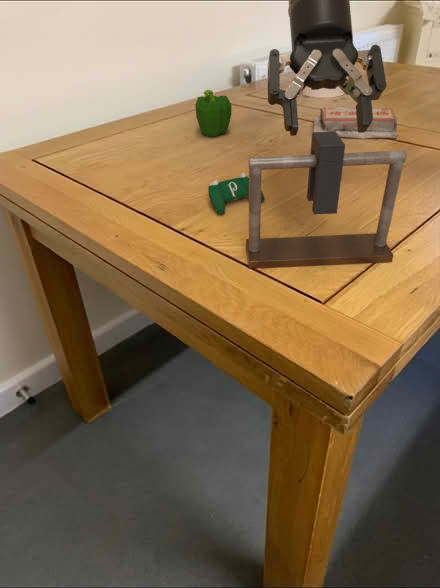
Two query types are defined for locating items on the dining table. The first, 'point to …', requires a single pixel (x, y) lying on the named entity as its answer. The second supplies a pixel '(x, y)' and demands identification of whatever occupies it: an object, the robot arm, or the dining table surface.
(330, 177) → the clip
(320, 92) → the honey pot
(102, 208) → the dining table surface
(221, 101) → the bell pepper
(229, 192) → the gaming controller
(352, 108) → the packaged product
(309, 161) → the rail stand
